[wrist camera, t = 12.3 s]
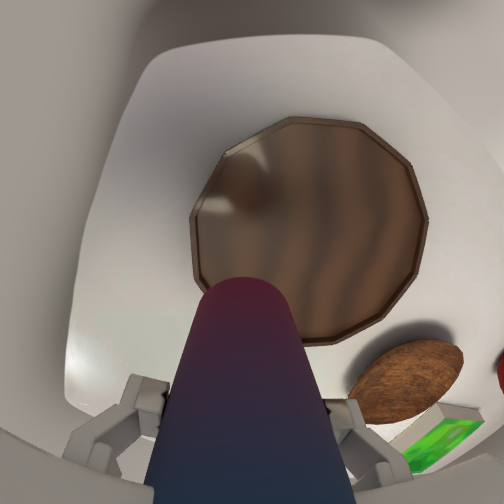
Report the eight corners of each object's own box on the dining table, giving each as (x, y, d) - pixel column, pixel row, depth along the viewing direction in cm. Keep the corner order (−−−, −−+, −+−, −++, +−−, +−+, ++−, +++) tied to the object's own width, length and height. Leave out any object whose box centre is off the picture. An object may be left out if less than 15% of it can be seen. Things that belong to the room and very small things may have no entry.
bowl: (409, 406, 48) (418, 423, 44) (319, 401, 45) (324, 424, 40) (467, 331, 41) (481, 348, 36) (379, 311, 38) (394, 332, 33)
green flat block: (436, 402, 49) (444, 418, 44) (477, 409, 54) (484, 421, 50) (363, 461, 57) (367, 476, 53) (416, 460, 62) (421, 472, 58)
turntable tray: (202, 338, 37) (186, 450, 21) (189, 117, 26) (126, 105, 11) (393, 329, 37) (446, 418, 22) (429, 135, 27) (541, 157, 12)
